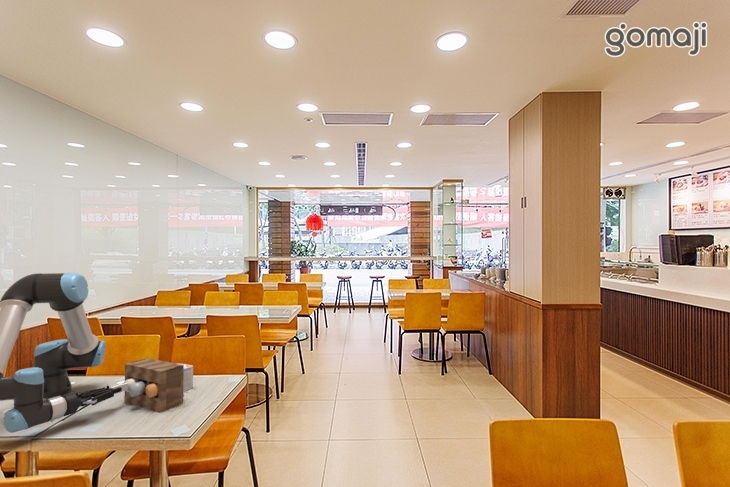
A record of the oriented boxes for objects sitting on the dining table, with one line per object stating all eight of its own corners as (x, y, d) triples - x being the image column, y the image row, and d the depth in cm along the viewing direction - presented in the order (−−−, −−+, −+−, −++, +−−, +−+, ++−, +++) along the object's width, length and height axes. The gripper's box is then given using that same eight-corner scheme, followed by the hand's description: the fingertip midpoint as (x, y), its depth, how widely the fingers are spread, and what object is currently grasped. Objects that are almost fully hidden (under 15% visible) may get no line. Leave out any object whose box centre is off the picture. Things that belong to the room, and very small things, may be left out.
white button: (124, 391, 161) (124, 378, 162) (143, 384, 169) (143, 373, 169) (131, 392, 159) (131, 380, 159) (150, 386, 167) (150, 375, 167)
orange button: (145, 396, 155) (145, 383, 155) (164, 390, 162) (164, 378, 163) (153, 398, 153) (153, 385, 153) (172, 391, 160) (172, 379, 160)
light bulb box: (164, 390, 178) (164, 366, 179) (176, 385, 185) (177, 362, 185) (181, 393, 174) (181, 369, 175) (193, 388, 181) (193, 365, 181)
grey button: (128, 395, 156) (128, 383, 156) (147, 389, 163) (147, 377, 163) (135, 397, 154) (136, 385, 154) (155, 391, 161) (155, 379, 161)
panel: (124, 401, 164) (124, 363, 164) (147, 394, 173) (147, 358, 173) (161, 412, 153) (161, 371, 153) (183, 403, 162) (183, 365, 162)
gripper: (52, 413, 142) (117, 392, 163) (71, 420, 136) (137, 397, 157) (52, 392, 142) (118, 374, 163) (71, 398, 136) (137, 379, 157)
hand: (127, 386), depth 160 cm, fingers closed
